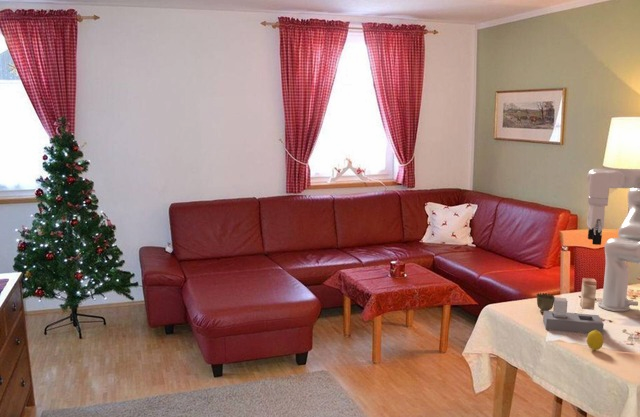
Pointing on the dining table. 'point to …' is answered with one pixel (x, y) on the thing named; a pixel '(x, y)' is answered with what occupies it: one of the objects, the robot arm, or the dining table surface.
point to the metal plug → (560, 307)
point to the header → (573, 322)
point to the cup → (545, 301)
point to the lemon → (595, 340)
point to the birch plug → (588, 293)
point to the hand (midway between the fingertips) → (594, 241)
